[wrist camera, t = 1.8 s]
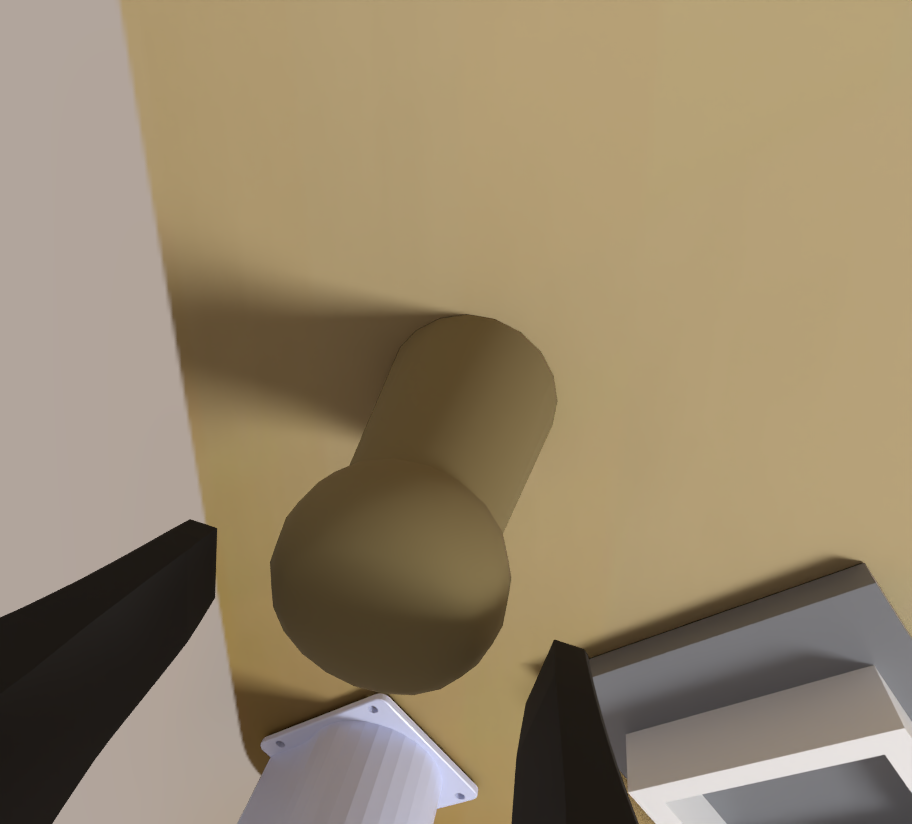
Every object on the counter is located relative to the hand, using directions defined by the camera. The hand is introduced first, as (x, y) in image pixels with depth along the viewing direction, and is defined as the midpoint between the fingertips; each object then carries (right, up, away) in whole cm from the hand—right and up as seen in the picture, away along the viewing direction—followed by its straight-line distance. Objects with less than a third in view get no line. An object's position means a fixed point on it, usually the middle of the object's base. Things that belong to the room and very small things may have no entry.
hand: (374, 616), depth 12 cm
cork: (+2, +5, +9) cm, 11 cm away
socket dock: (+16, -11, +14) cm, 23 cm away
